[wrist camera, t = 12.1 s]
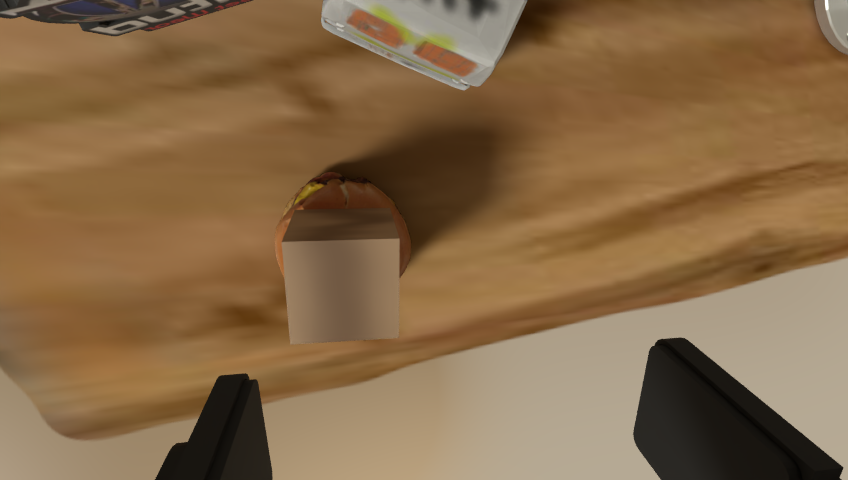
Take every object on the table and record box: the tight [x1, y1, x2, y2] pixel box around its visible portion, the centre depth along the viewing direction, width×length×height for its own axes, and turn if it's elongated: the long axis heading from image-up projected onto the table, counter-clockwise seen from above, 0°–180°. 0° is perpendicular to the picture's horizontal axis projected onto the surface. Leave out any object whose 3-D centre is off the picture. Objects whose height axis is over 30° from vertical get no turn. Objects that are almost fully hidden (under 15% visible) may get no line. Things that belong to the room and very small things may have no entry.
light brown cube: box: [282, 208, 400, 344], centre depth 27 cm, size 6×6×6 cm
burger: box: [275, 172, 411, 278], centre depth 32 cm, size 10×9×5 cm
